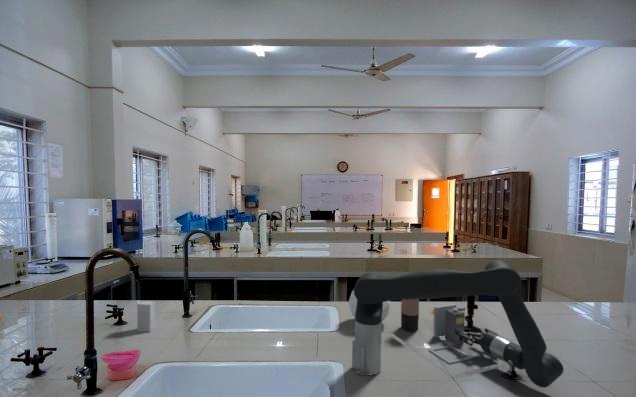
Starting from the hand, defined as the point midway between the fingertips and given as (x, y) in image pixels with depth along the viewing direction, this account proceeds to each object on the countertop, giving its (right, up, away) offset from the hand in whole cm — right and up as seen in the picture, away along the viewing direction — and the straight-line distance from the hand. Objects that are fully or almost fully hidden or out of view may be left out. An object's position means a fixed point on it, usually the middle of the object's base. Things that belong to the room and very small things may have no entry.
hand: (463, 329), depth 136 cm
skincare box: (-134, -6, +14) cm, 135 cm away
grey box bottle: (-2, -6, +5) cm, 8 cm away
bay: (-2, -8, +5) cm, 10 cm away
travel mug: (-17, -7, +16) cm, 25 cm away
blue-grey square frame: (-9, -8, -8) cm, 14 cm away
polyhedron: (-34, -7, +25) cm, 43 cm away
